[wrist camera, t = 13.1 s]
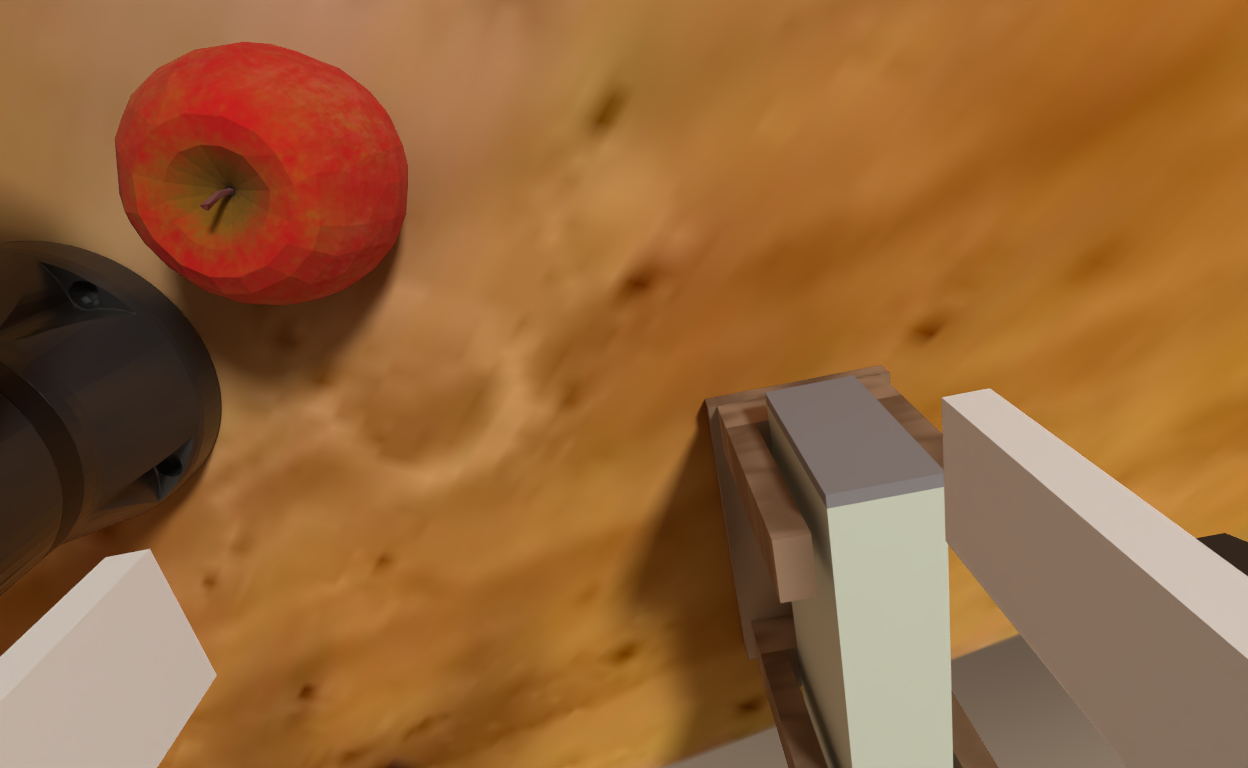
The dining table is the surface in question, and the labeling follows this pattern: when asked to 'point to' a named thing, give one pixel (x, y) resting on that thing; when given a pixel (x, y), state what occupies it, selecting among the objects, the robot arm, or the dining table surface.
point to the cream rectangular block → (868, 577)
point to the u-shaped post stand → (793, 555)
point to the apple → (261, 173)
